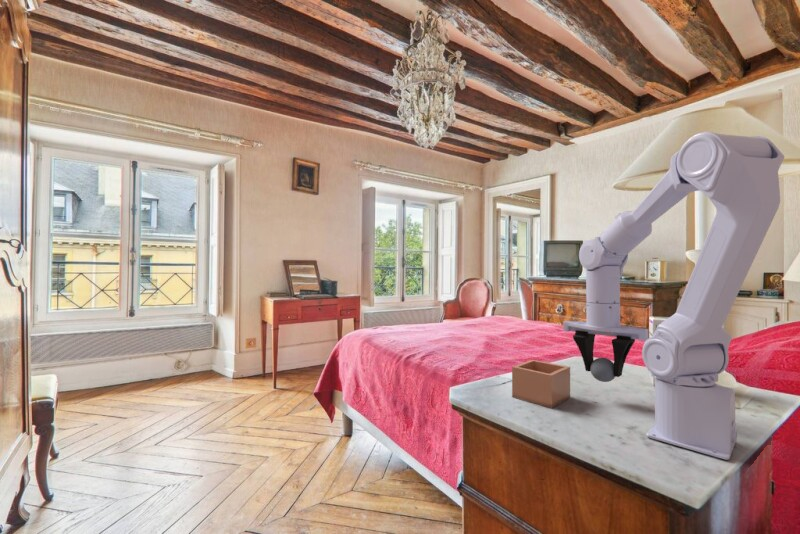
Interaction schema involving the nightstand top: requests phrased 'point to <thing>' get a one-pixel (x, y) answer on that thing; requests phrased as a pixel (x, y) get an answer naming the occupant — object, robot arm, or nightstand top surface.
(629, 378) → the nightstand top surface
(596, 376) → the ball
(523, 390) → the open square bin
